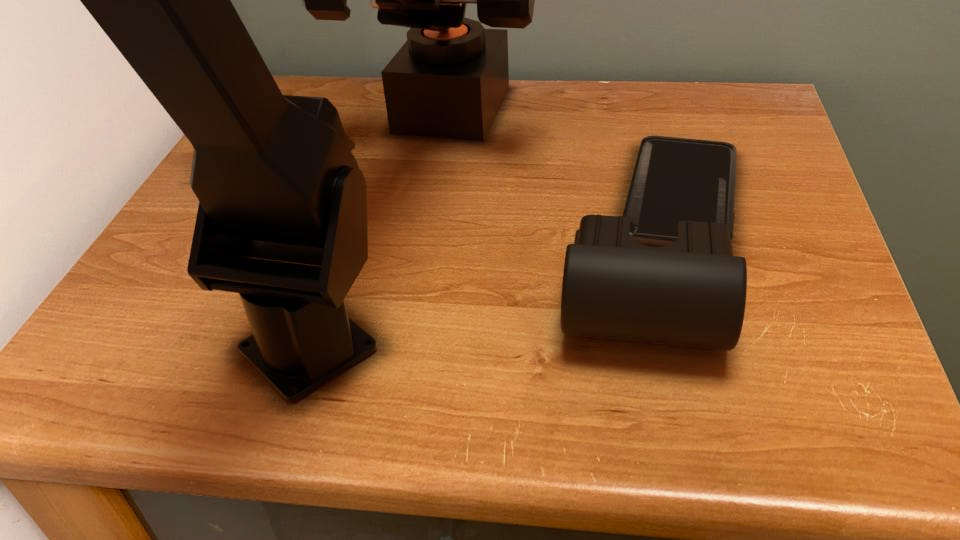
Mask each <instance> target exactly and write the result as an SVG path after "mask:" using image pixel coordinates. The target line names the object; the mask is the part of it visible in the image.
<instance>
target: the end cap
mask: <svg viewBox="0 0 960 540" xmlns="http://www.w3.org/2000/svg"><path fill="white" fill-rule="evenodd" d="M578 227H579V228H578V229H576V231H575V234H574V241H573V242H574V243H569V244H568V245H567V246H566V249H565V255H564V263H563V273H562V284H561V295H560V297H561V298H560V321H559V322H560V331H561V333H562V334H563V335H566V336H575V337H584V338H593V339H605V340H613V341H614V340H616V341H626V342H634V343H636V342H637V343H645V344H654V345H655V344H656V345H666V346H675V347H676V346H677V347H686V348H687V347H688V348H696V349H705V350H707V349H708V350H718V351H726V352H727V351H732V350H734V349H736V347H737V345H738V343H739V340H740V338H741V334H742V330H743V325H744V319H745V313H746V312H745V311H746V304H747V303H746V302H747V291H748V290H747V289H748V288H747V287H748V267H747V266H748V265H747V259H746V257H744V256H739V255H734V251H733V250H734V249H733V242H731V241H730V233H729V229H728V227H727V226H726V225H724V224H721V223H713V222H709V223H708V222H694V221H678V239H677V241H676V242H674V243H673V244H671V245H669V246H665V247H649V246H645V245H642V244H640V243H638V242H636V241H635V240H634V239H633V238H632V237H631V235H630V217H623V215H618V216H617V215H606V214H605V215H602V214H586V215H584V216H582V217H581V218H580V223H579V226H578Z"/></svg>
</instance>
